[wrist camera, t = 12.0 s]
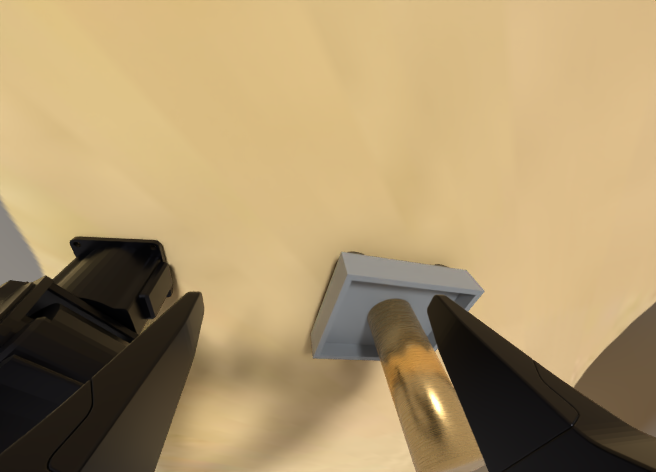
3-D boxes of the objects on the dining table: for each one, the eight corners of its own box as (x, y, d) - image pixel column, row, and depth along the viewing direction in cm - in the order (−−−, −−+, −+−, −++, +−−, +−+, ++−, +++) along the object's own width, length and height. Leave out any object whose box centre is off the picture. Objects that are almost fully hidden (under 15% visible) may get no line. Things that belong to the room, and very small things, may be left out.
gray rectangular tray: (309, 322, 31) (312, 358, 27) (338, 242, 25) (347, 274, 21) (411, 329, 34) (426, 362, 31) (458, 261, 28) (484, 291, 24)
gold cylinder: (371, 333, 28) (419, 486, 18) (363, 306, 26) (416, 469, 15) (412, 321, 28) (486, 469, 18) (409, 293, 25) (494, 448, 15)
